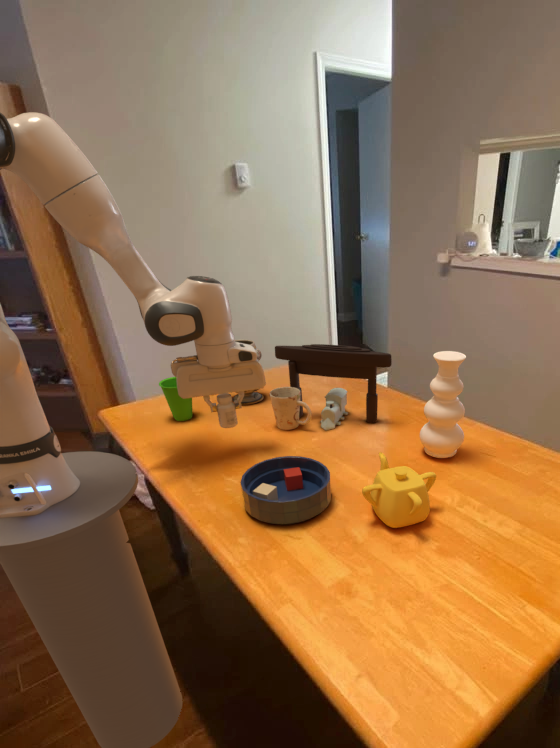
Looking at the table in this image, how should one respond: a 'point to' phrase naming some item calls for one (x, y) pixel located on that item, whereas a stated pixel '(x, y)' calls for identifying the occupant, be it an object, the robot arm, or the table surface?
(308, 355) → the stool
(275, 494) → the cream block
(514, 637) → the table surface
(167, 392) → the cup
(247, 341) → the apothecary jar
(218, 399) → the pill bottle
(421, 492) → the teapot
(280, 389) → the mug
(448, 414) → the vase
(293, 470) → the red block
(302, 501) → the bowl
